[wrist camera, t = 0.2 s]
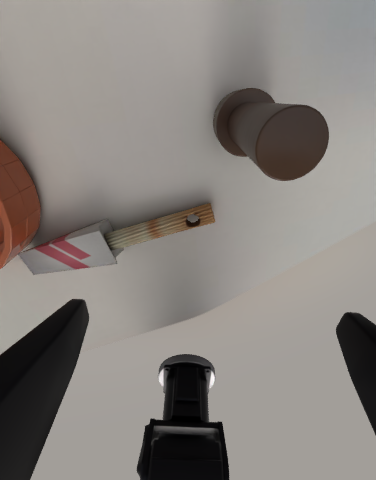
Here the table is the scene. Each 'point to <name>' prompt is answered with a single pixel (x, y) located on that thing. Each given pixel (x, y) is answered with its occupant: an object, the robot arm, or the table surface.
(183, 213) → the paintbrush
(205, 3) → the table surface
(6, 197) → the bowl
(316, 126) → the pestle
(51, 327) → the robot arm
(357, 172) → the table surface
